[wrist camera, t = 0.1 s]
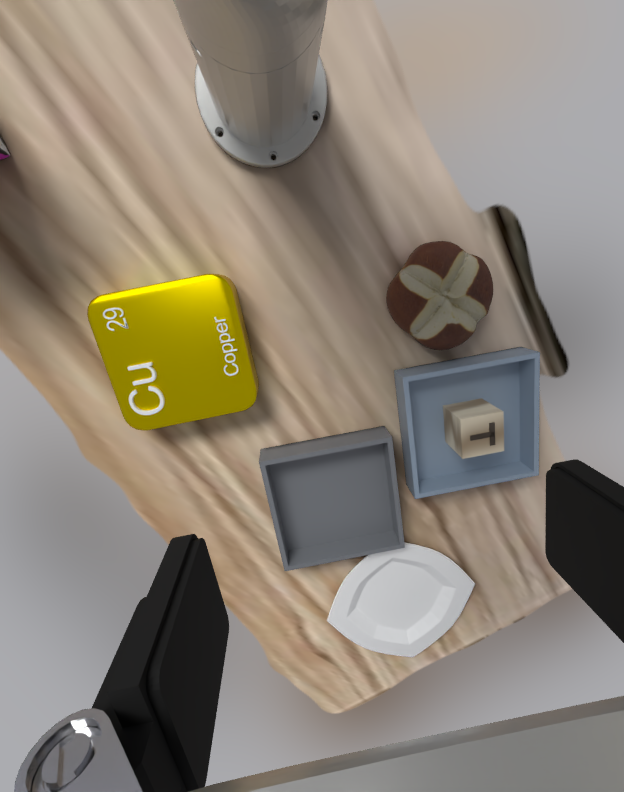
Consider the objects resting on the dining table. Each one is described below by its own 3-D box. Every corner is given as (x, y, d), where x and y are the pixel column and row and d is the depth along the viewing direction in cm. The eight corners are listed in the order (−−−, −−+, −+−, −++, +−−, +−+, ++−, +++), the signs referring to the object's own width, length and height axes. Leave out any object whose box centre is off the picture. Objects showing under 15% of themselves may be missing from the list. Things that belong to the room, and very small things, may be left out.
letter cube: (442, 405, 48) (460, 419, 44) (481, 398, 49) (504, 411, 44) (445, 442, 50) (463, 460, 45) (483, 435, 50) (504, 452, 45)
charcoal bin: (260, 449, 49) (258, 462, 46) (384, 425, 49) (392, 437, 46) (284, 552, 54) (284, 571, 50) (397, 530, 54) (404, 547, 51)
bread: (437, 361, 48) (454, 370, 43) (368, 301, 45) (379, 304, 40) (502, 288, 46) (528, 289, 41) (434, 221, 43) (453, 214, 38)
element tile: (262, 396, 47) (260, 409, 43) (141, 421, 47) (126, 436, 43) (232, 270, 43) (226, 269, 38) (98, 296, 43) (77, 299, 38)
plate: (309, 614, 58) (310, 626, 56) (381, 516, 54) (385, 525, 52) (411, 657, 62) (415, 669, 60) (485, 569, 58) (492, 579, 56)
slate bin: (393, 370, 47) (402, 377, 44) (521, 346, 48) (539, 352, 44) (406, 484, 52) (415, 498, 49) (521, 462, 52) (538, 475, 49)
